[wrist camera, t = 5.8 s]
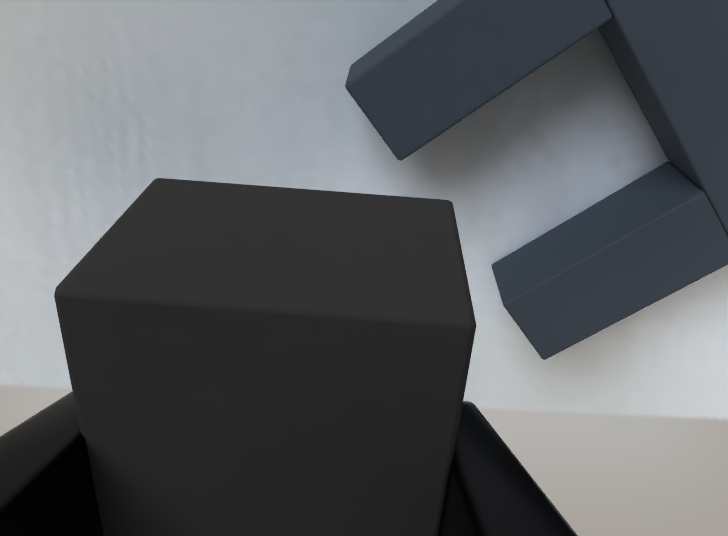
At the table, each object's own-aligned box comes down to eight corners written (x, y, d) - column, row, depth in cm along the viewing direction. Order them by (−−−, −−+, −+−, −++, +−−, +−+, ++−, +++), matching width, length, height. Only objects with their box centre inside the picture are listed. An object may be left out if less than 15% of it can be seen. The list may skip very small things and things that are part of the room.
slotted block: (527, 316, 22) (543, 361, 19) (349, 66, 18) (343, 85, 16) (1071, 18, 17) (1175, 32, 15) (977, -405, 13) (1094, -471, 11)
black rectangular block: (415, 470, 11) (421, 645, 8) (181, 452, 11) (114, 619, 8) (453, 197, 9) (478, 323, 6) (154, 175, 9) (48, 288, 6)
